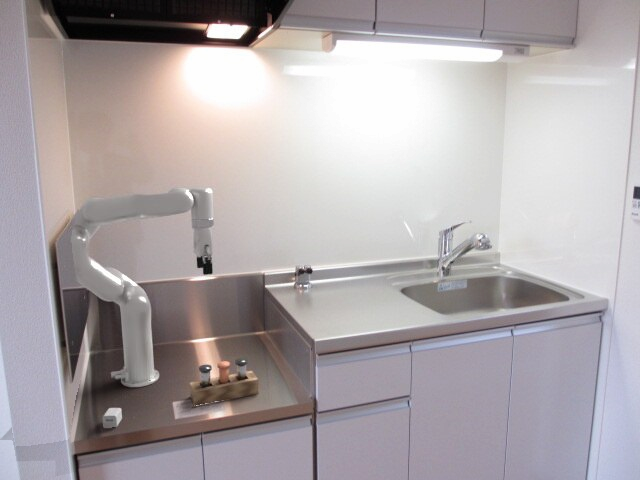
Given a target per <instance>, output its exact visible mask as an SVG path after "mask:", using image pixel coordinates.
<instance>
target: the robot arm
mask: <svg viewBox="0 0 640 480" xmlns="http://www.w3.org/2000/svg"><path fill="white" fill-rule="evenodd" d="M213 194H214V193H213V190H212V188H209V187H194V188H190V187H189V188H188V187H187V188H184V187H174V188H171V189H170V190H168V192H165V193H164V192H163V193H160V194H159V193H156V194H142V193H130V194H129V193H128V194H124V195H118V196H112V197H106V198H101V197H93V198H92V197H91V198H89V199H88V200H86V201H85V202H84V204H83V205H82V206H81V207H80V208H79V210H78V211H77V212H76V213H75V215H74V216H73V217H74V219H75V226H74V228H73V230H72V236H71V243H72V253H73V260H74V267H75V273H76V278H77V281H78V282H77V281H76V282H77V283H79V284H80V285H82V287H84V288H85V289H86V290H88V291H89V292H91V293H93V294H94V295H95V296H96V297H98V298H99V299H101V300H102V301H105V302H113V303H115V304H117V305H118V306H119V310H120V311H119V312H120V318H121V319H120V320H121V321H120V322H121V333H122V334H121V335H122V345H123V346H122V347H123V361H124V365H123V368H122V369H120V370H118V371H111V372H110V375H111V376H110V377H111V378H112V379H113V378H115V380H120V383H121V384H122V385H123V386H125V387H128V388H142V387H146V386H149V385H152V384H154V383H156V382H157V381H158V380H159V378H160V372H159V371H158V370H156V368H155V363H154V349H153V348H154V346H153V331H152V306H151V302H150V299H149V297H148V295H147V292H146V291H145V290H144V289H143V288H142V287H141V286H140V285H138V283H136V282H135V281H133V280H132V279H131V278H129V277H128V276H127V275H125V274H124V273H123V272H121V271H120V270H119V269H116V268H113V267H104V266H103V265H102V264H100V263H99V262H98V261H96V260H95V259H94V258H92V257H91V256H89V254H88V248H89V245H90V240H91V239H92V237H93V236H94V235H95V234H96V232H98V230H99V229H100V227H102V226H107V225H115V224H120V223H124V222H131V221H135V220H137V221H138V220H148V219H153V218H164V217H170V216H176V215H180V214H184V213H188V211H190V217H191V218H190V219H191V229H193V253H194V254H195V255H196V268H197V269H202V275H205V276H206V275H207V276H208V275H213V270H214V269H213V260H212V256H213V253H214V251H213V248H214V246H213V236H212V235H213V234H212V229H213V228H215V225H214V218H215V217H214V201H213V200H214V198H213V197H214V195H213Z"/></svg>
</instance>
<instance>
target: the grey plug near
mask: <svg viewBox="0 0 640 480" xmlns="http://www.w3.org/2000/svg"><path fill="white" fill-rule="evenodd" d="M212 370H213V369H212V365H210V364H202V365H200V366H199V367H198V372H200V380H201V388H205V387H210V386H211V380H210V379H211V371H212Z"/></svg>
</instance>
